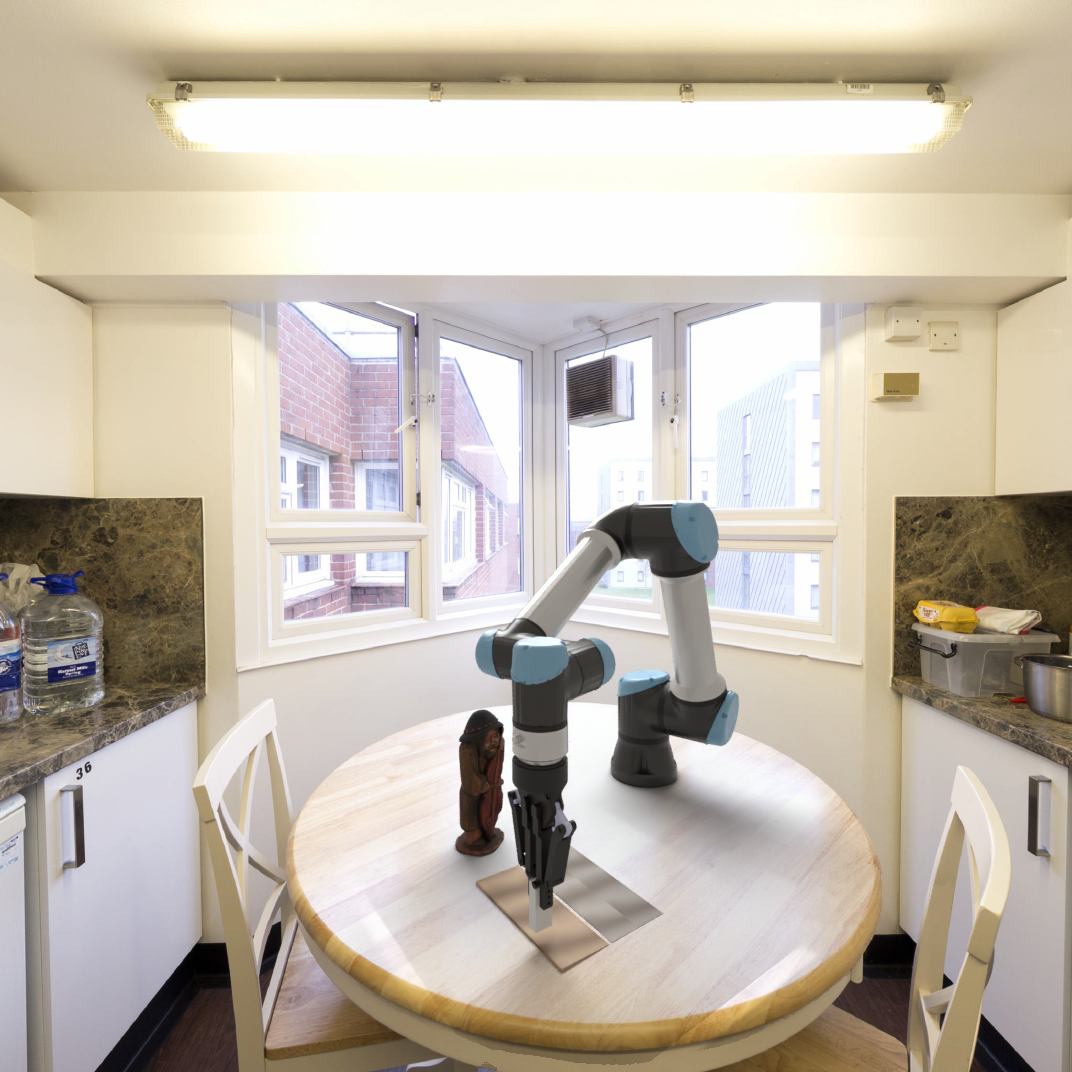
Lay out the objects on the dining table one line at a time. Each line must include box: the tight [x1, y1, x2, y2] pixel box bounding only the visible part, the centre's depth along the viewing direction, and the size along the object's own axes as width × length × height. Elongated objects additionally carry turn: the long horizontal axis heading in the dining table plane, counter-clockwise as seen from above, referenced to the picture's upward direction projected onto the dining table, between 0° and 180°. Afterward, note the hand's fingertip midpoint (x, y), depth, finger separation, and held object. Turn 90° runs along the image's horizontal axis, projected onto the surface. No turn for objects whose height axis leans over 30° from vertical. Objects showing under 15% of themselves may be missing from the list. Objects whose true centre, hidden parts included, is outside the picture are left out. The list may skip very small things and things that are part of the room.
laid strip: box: [553, 845, 664, 944], centre depth 91 cm, size 22×10×2 cm, turn 35°
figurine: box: [455, 709, 506, 857], centre depth 103 cm, size 10×8×25 cm
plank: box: [475, 864, 609, 973], centre depth 85 cm, size 22×8×2 cm, turn 35°
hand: (540, 926), depth 79 cm, fingers closed
